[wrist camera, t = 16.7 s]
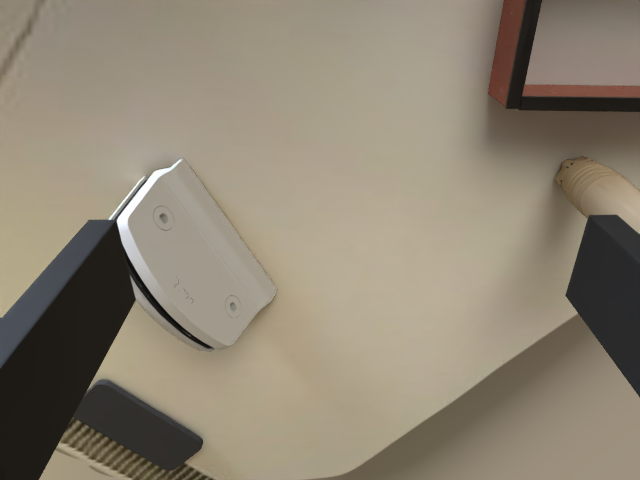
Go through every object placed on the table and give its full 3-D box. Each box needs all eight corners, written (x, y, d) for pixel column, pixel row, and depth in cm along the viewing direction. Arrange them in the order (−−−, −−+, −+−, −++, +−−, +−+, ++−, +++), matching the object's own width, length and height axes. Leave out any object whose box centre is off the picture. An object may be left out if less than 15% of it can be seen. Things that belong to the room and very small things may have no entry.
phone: (100, 380, 55) (206, 445, 60) (103, 375, 56) (207, 439, 61) (66, 413, 58) (169, 473, 63) (69, 408, 58) (171, 467, 63)
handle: (527, 177, 44) (614, 265, 31) (591, 128, 42) (714, 200, 29) (556, 212, 46) (650, 309, 33) (619, 166, 44) (747, 250, 30)
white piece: (279, 292, 50) (238, 370, 43) (245, 300, 53) (199, 375, 45) (181, 154, 43) (110, 218, 36) (146, 170, 46) (73, 234, 38)
